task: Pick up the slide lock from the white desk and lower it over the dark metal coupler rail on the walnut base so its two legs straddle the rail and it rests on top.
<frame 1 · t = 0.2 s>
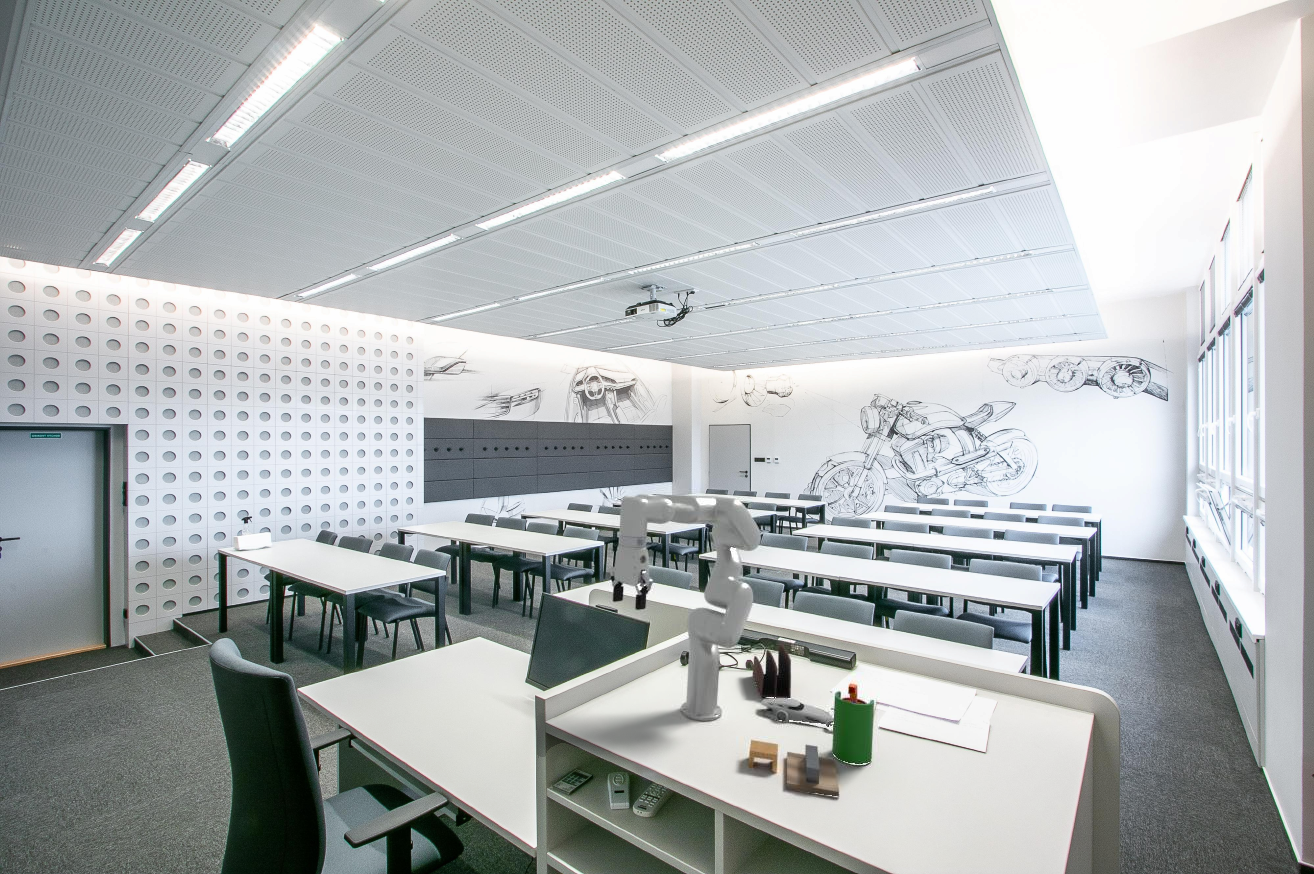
hand: (628, 605, 163), 37 cm above the table, tool pointing down, fingers open, 9 cm apart
letter holder: (770, 688, 208), on the table
coupler rail: (811, 763, 150), on the rail base, point 3 cm above the table
car model: (800, 719, 184), on the table
motor: (851, 758, 161), on the table
rail base: (811, 776, 149), on the table
slide lock: (763, 764, 154), on the table
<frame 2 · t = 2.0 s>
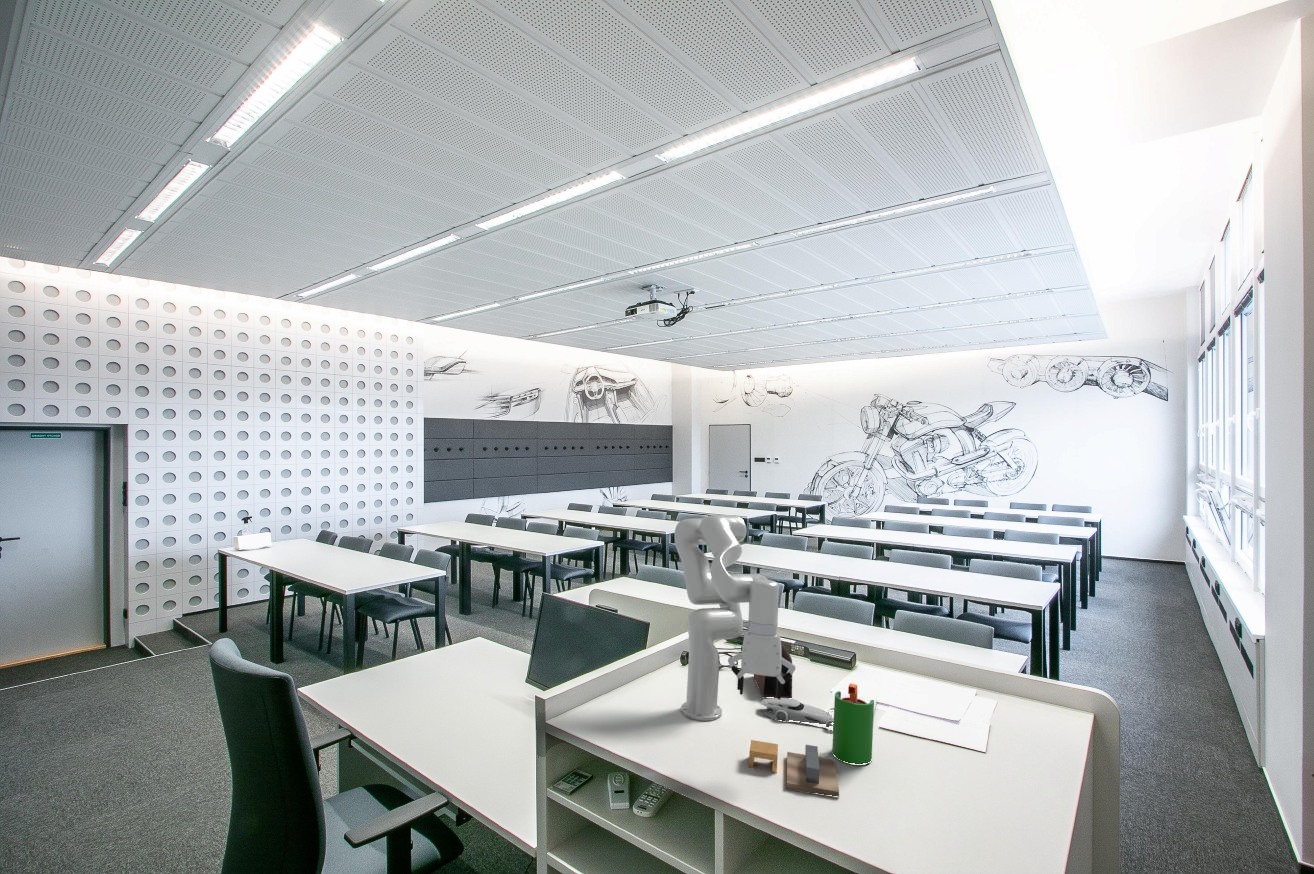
hand: (760, 695, 155), 18 cm above the table, tool pointing down, fingers open, 9 cm apart
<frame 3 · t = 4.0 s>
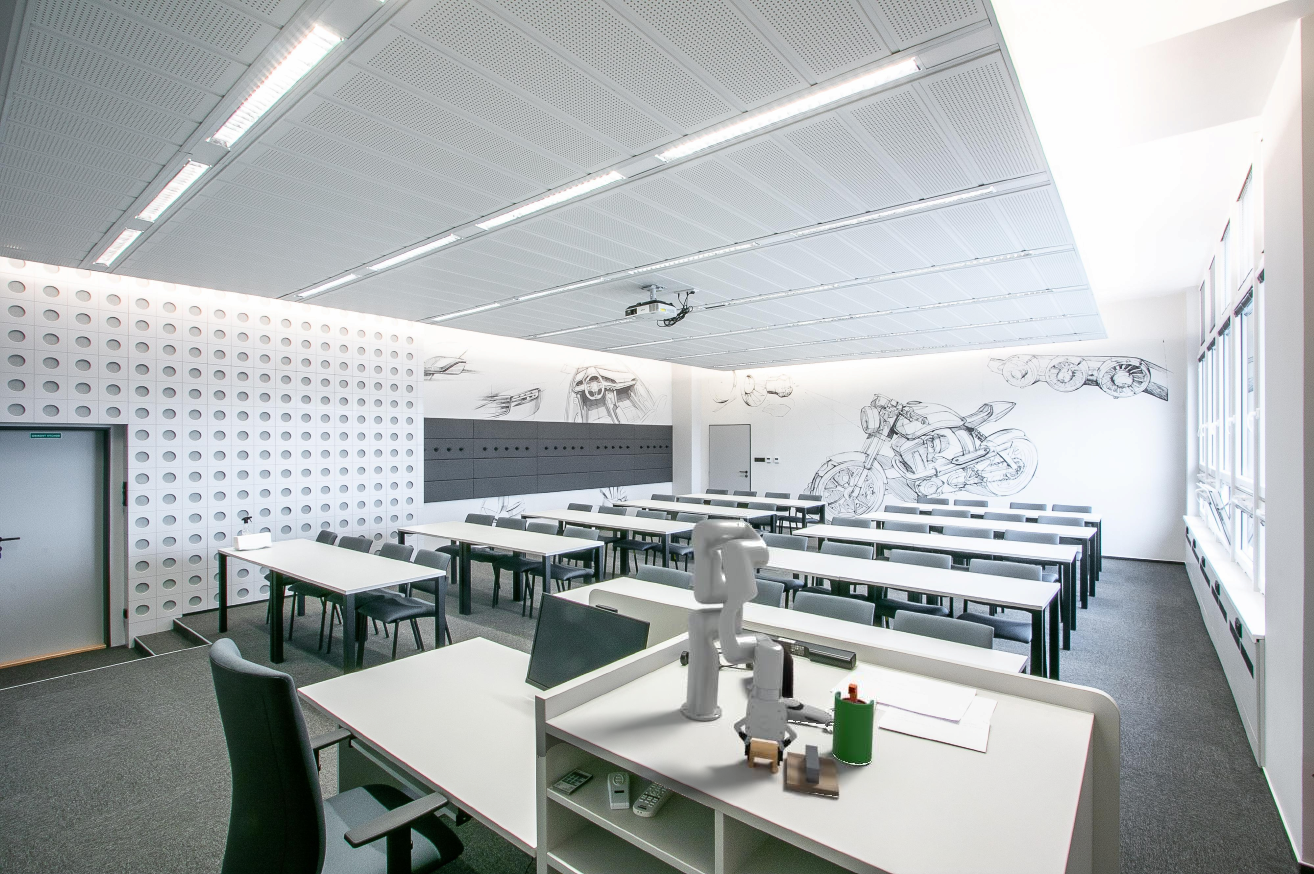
hand: (763, 760, 154), 1 cm above the table, tool pointing down, fingers closed on slide lock, 7 cm apart
slide lock: (763, 764, 154), on the table, touching gripper
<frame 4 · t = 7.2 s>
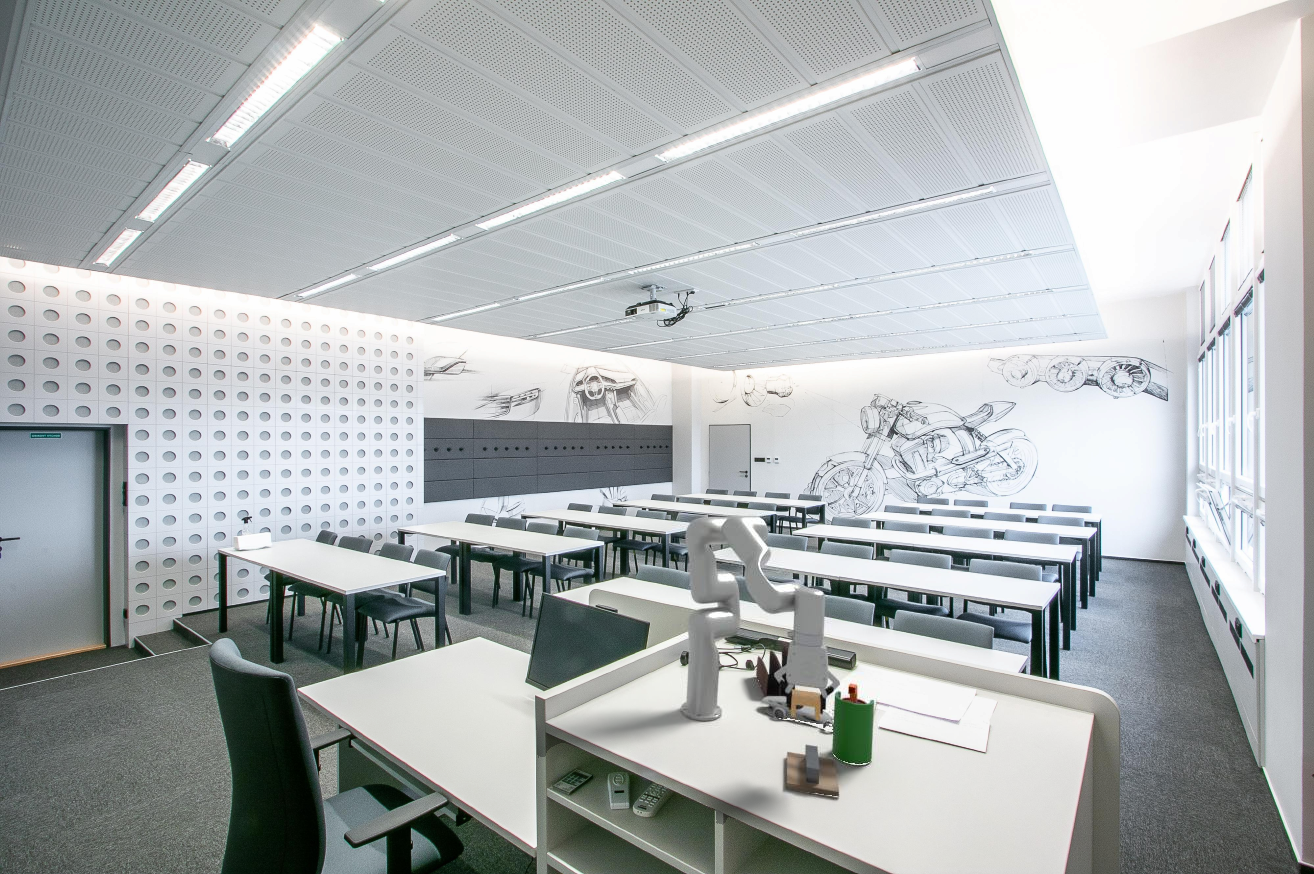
hand: (805, 709, 151), 16 cm above the table, tool pointing down, fingers closed on slide lock, 7 cm apart
slide lock: (805, 713, 151), point 15 cm above the table, touching gripper
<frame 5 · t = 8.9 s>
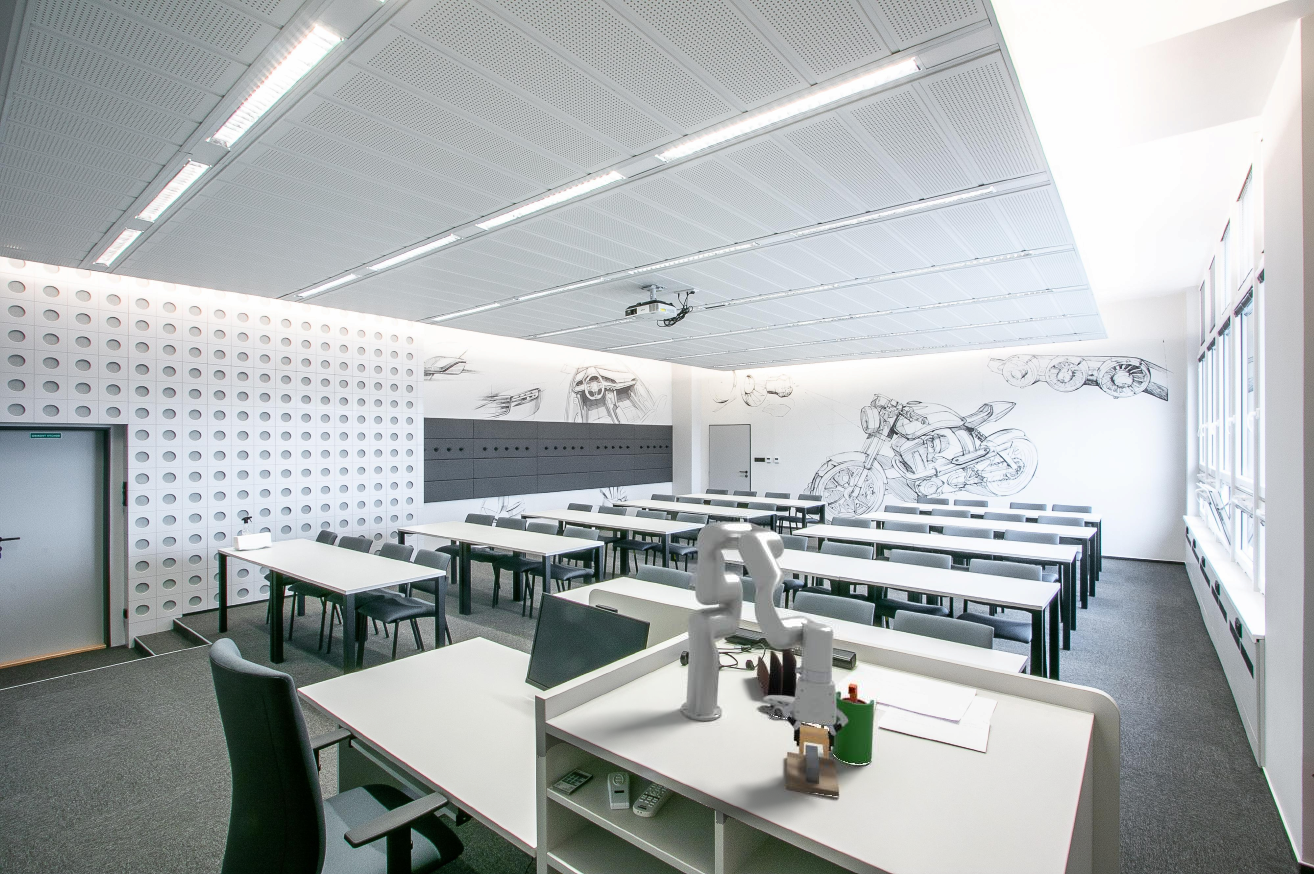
hand: (813, 745, 150), 8 cm above the table, tool pointing down, fingers closed on slide lock, 7 cm apart
slide lock: (813, 750, 149), point 7 cm above the table, touching gripper
when the fingers open (4 cm above the table, at t = 10.1 s): slide lock drops 1 cm, resting on coupler rail.
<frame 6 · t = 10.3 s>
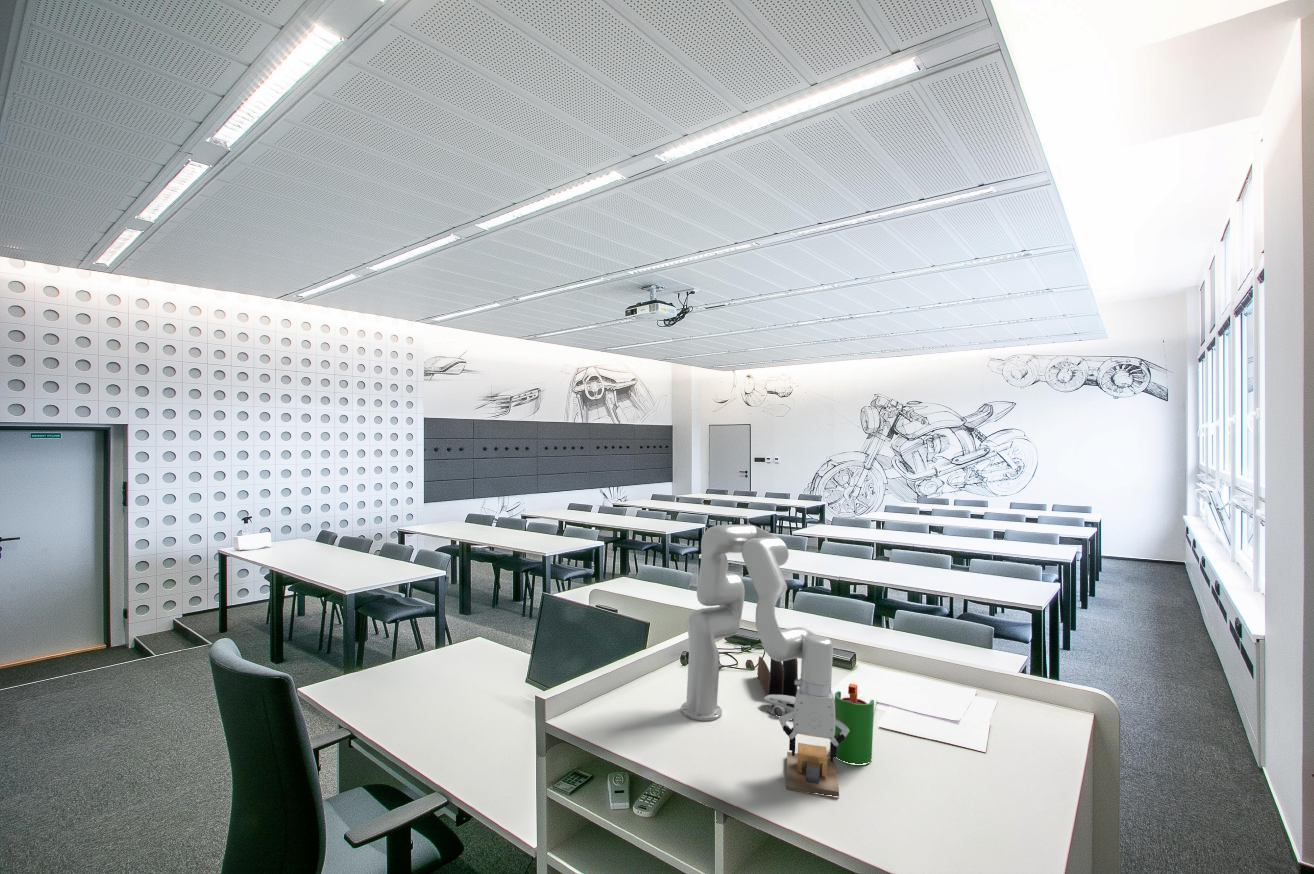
hand: (812, 756, 150), 5 cm above the table, tool pointing down, fingers open, 9 cm apart
slide lock: (811, 768, 150), point 2 cm above the table, touching coupler rail
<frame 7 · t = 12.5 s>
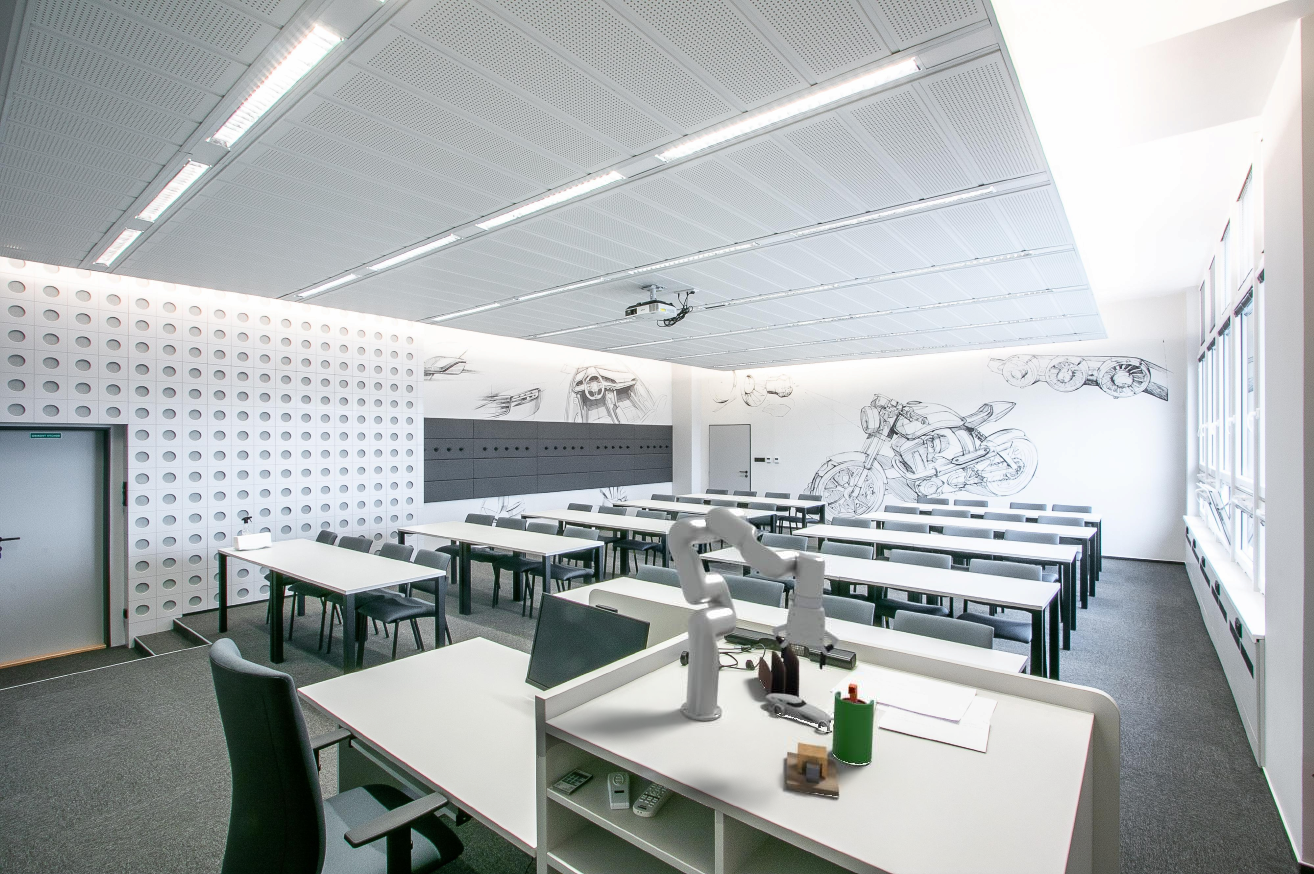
hand: (802, 664, 161), 24 cm above the table, tool pointing down, fingers open, 9 cm apart
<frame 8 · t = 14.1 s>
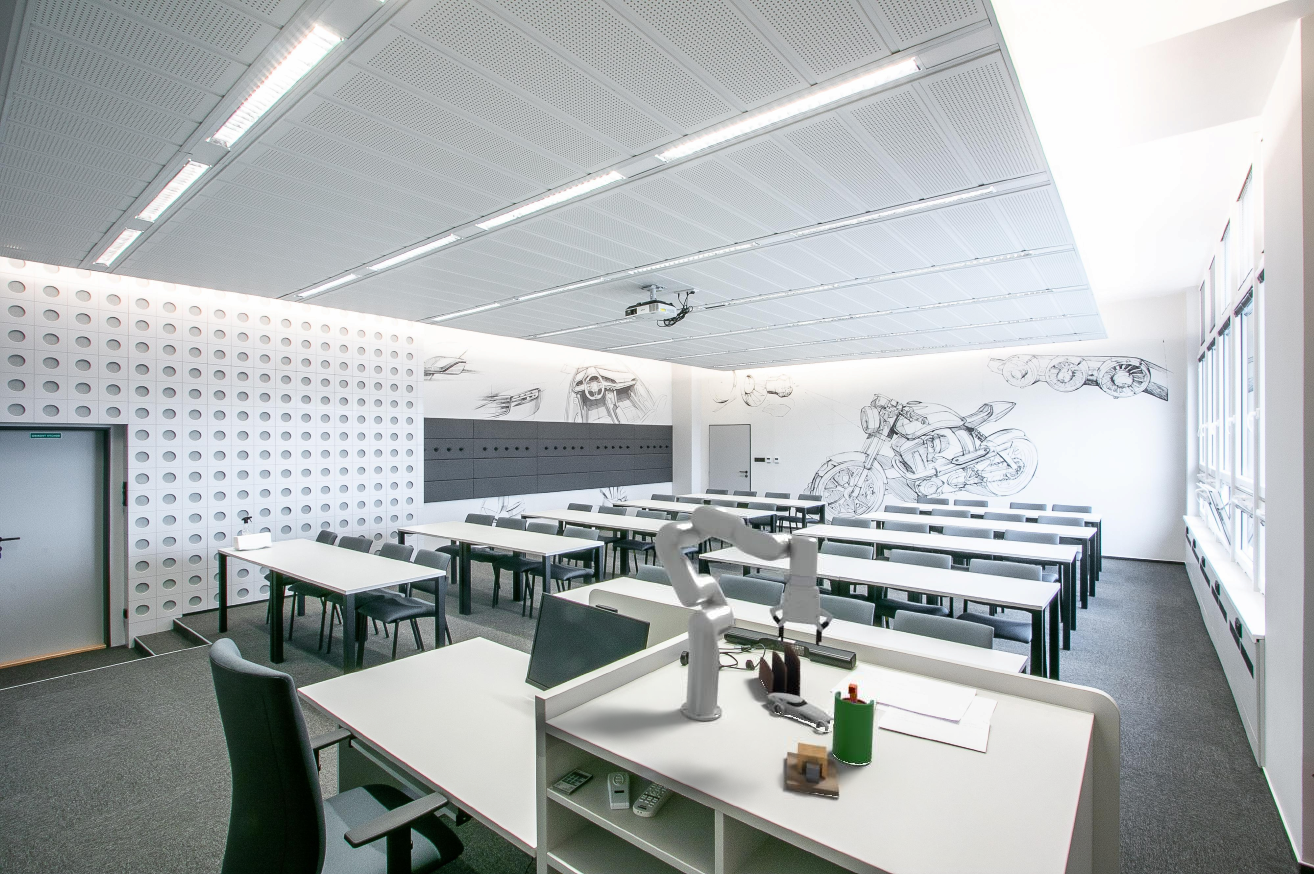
hand: (799, 642, 167), 28 cm above the table, tool pointing down, fingers open, 9 cm apart
at the end: slide lock 0.1 cm from the coupler rail (horizontally); slide lock point 2.0 cm above the table; slide lock tilted 0° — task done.
